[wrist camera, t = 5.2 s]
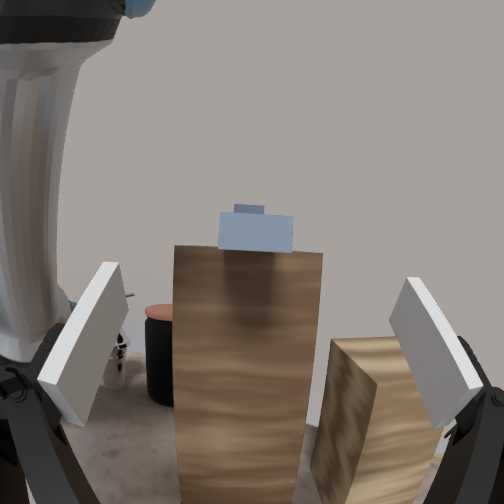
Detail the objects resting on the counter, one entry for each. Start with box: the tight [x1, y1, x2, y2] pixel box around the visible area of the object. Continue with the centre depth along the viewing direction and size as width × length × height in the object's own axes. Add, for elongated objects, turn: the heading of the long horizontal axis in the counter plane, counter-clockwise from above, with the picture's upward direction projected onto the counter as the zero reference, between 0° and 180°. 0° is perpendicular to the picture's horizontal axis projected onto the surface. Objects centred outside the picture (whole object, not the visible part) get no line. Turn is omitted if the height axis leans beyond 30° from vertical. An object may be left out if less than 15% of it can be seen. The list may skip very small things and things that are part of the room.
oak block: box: [311, 336, 444, 504], centre depth 29 cm, size 14×9×20 cm, turn 3°
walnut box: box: [172, 246, 323, 504], centre depth 32 cm, size 14×12×30 cm
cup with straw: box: [102, 293, 134, 390], centre depth 56 cm, size 8×9×20 cm
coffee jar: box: [145, 304, 174, 407], centre depth 56 cm, size 11×11×18 cm
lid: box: [218, 204, 293, 253], centre depth 27 cm, size 20×4×4 cm, turn 3°
